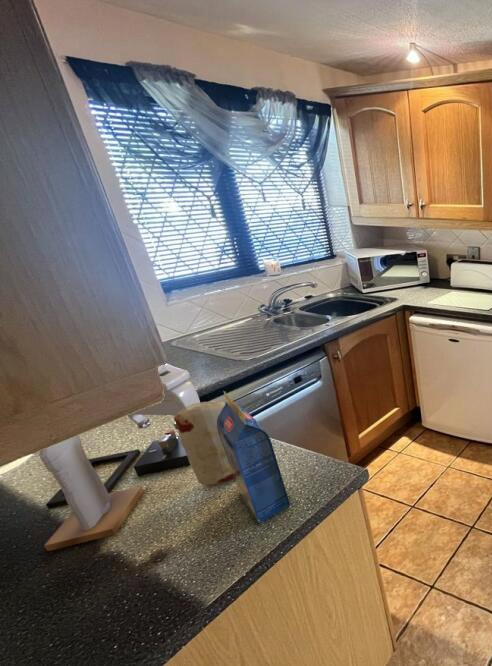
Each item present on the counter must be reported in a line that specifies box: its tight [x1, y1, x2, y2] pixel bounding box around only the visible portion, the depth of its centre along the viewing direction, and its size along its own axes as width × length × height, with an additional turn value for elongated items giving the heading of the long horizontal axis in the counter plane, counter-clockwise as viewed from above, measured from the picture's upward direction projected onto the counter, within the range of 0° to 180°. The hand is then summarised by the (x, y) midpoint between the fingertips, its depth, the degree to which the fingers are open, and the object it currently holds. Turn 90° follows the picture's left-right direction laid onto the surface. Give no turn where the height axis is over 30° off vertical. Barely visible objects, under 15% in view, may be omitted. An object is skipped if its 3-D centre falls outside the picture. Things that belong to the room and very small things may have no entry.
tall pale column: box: [39, 434, 111, 531], centre depth 74 cm, size 11×4×22 cm, turn 29°
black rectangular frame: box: [45, 448, 142, 509], centre depth 89 cm, size 10×15×1 cm, turn 21°
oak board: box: [43, 485, 145, 552], centre depth 79 cm, size 10×12×2 cm
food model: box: [173, 400, 235, 486], centre depth 86 cm, size 10×7×20 cm
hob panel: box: [133, 435, 191, 478], centre depth 95 cm, size 11×10×3 cm
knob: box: [158, 429, 178, 454], centre depth 94 cm, size 4×2×4 cm, turn 21°
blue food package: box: [217, 390, 291, 523], centre depth 78 cm, size 6×12×25 cm, turn 49°
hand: (163, 427), depth 93 cm, fingers open, 8 cm apart
